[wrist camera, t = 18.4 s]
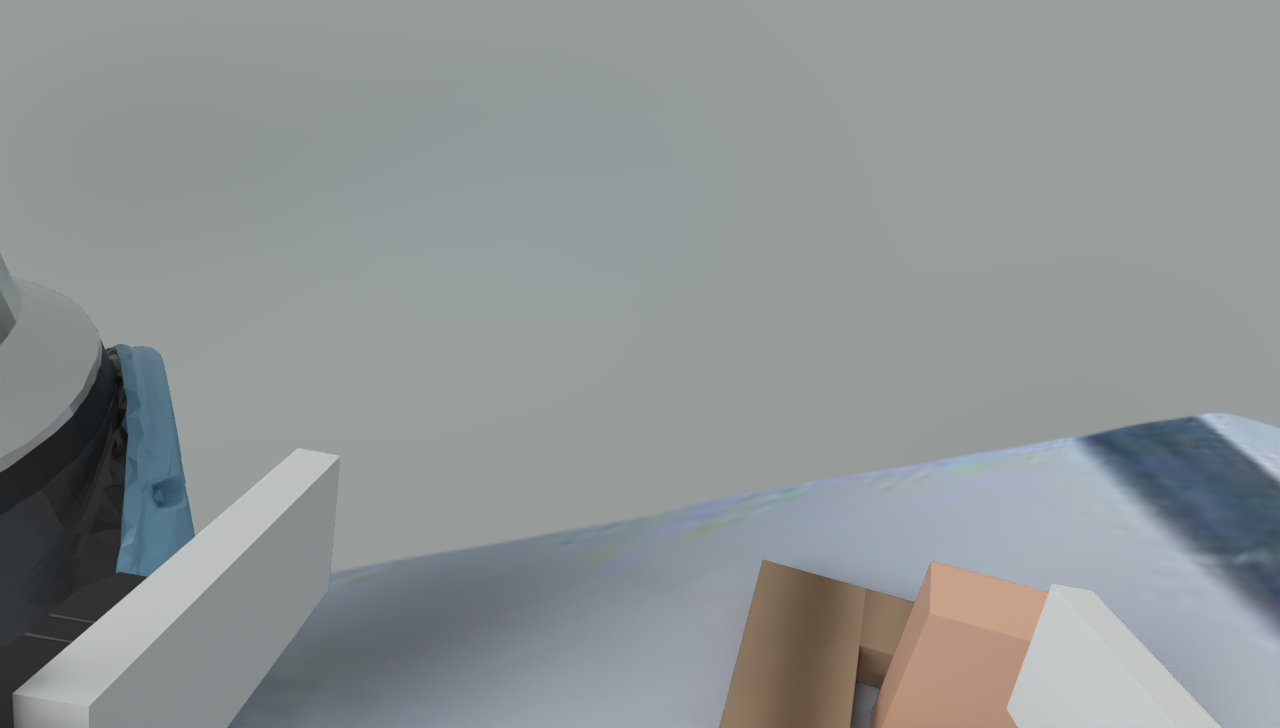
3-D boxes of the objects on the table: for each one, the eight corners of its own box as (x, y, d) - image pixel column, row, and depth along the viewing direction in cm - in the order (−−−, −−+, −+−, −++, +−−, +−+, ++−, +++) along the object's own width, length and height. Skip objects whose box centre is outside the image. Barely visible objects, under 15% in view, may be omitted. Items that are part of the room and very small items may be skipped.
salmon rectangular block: (866, 763, 41) (929, 612, 34) (871, 712, 43) (931, 560, 37) (1011, 811, 40) (1108, 663, 33) (1008, 754, 42) (1098, 605, 35)
